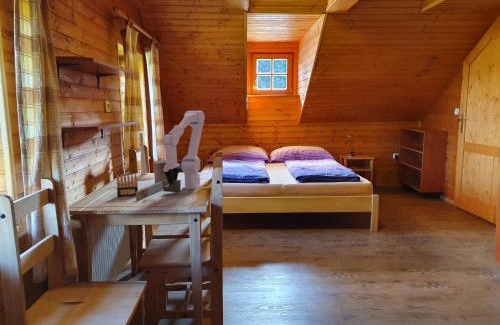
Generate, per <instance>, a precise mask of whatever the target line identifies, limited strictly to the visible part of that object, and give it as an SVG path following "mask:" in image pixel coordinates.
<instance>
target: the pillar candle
mask: <svg viewBox="0 0 500 325" xmlns="http://www.w3.org/2000/svg"><path fill="white" fill-rule="evenodd" d="M152 163H153V174H154V175H153V176H154V184H156V183H159V182H161V180H167V177H166V175H165V174H164V169H163V168H165V167H164V166H165V165H166V159H161V160H154V161H153V162H152ZM167 185H169V183H168V180H167Z"/></svg>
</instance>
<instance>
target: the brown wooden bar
mask: <svg viewBox="0 0 500 325" xmlns="http://www.w3.org/2000/svg"><path fill="white" fill-rule="evenodd" d="M161 182H163V187H164V186H166V185H168V184H167V180H161ZM147 197H149V195H148V188H147V187H144V188H141V189H138V191H136V196H135V201H139V202H140V201H141V200H143V199H146V198H147Z"/></svg>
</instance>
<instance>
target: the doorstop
mask: <svg viewBox="0 0 500 325" xmlns="http://www.w3.org/2000/svg"><path fill="white" fill-rule="evenodd" d="M181 189H182V188H181V180H180V179H177V180H173V184H167V185H166V186H164V187H163V189H162V192H165V193H166V192H167V193H175V194H177V193H180V192H181V191H182V190H181Z"/></svg>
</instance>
